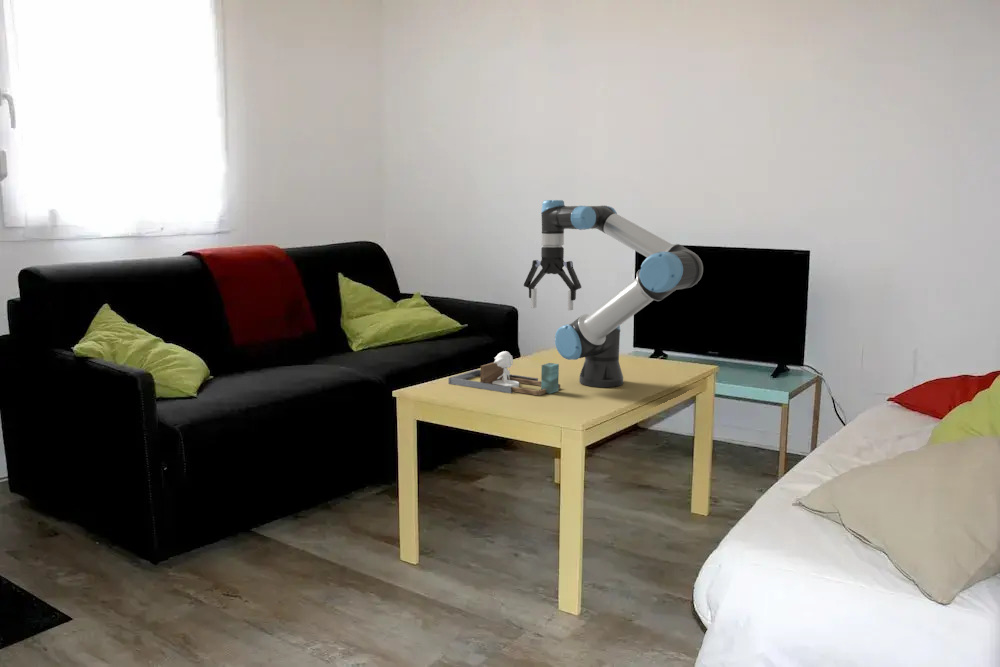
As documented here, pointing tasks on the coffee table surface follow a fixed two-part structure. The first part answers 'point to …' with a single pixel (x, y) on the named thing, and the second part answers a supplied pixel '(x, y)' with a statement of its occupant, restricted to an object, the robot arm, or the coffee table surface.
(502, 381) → the figurine
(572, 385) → the coffee table surface
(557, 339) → the robot arm
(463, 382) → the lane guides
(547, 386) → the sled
